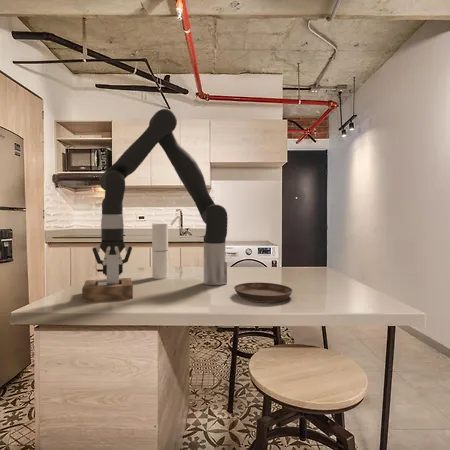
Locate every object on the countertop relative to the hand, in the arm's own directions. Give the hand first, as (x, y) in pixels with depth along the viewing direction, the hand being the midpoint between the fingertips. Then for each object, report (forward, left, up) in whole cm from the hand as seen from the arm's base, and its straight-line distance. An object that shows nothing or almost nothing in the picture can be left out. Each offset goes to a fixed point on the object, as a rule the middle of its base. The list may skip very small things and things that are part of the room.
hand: (112, 274), depth 114 cm
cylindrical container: (-21, -27, -8) cm, 35 cm away
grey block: (+1, 0, -4) cm, 5 cm away
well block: (+1, 0, -7) cm, 7 cm away
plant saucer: (-51, +19, -8) cm, 55 cm away
